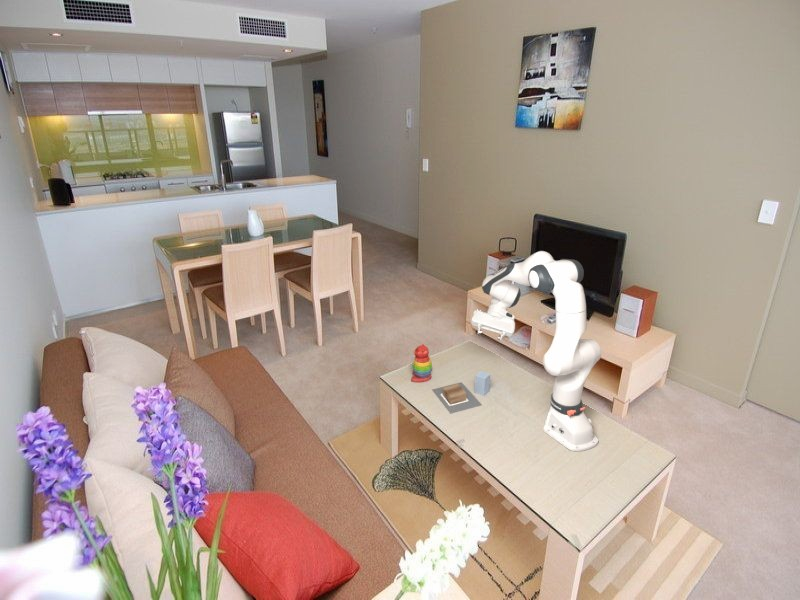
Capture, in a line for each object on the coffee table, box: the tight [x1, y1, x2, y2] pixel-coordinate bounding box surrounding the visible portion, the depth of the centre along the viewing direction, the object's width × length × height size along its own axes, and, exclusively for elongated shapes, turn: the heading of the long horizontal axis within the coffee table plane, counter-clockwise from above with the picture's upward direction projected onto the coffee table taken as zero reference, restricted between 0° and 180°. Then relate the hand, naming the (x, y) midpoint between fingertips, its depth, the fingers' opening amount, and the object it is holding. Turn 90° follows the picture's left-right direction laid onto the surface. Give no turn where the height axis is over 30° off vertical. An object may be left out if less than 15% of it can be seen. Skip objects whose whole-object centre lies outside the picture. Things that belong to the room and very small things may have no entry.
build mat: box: [431, 381, 483, 415], centre depth 215 cm, size 20×16×1 cm
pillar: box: [474, 370, 491, 397], centre depth 216 cm, size 5×5×10 cm
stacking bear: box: [410, 343, 433, 384], centre depth 228 cm, size 11×10×18 cm
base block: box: [443, 383, 466, 404], centre depth 213 cm, size 8×8×4 cm
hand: (489, 336), depth 212 cm, fingers open, 8 cm apart
